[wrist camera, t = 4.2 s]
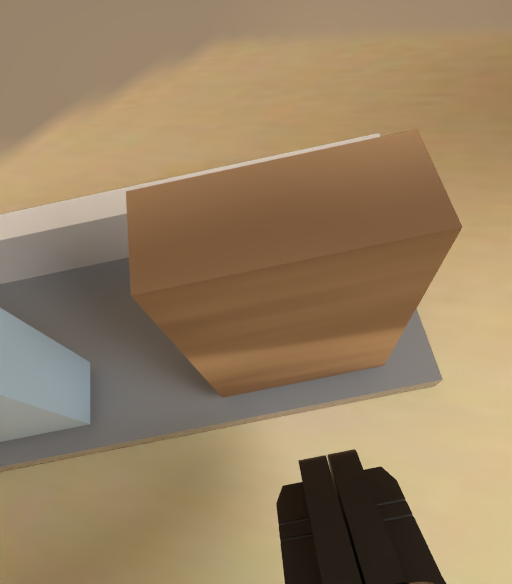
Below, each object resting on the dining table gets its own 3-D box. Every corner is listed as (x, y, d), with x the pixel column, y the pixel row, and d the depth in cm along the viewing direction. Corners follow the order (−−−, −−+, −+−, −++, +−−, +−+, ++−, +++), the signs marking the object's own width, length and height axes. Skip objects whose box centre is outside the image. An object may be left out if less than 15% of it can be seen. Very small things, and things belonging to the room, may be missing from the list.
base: (-54, 284, 21) (-128, 241, 18) (367, 195, 21) (379, 133, 17) (-87, 489, 17) (-192, 487, 14) (435, 385, 17) (470, 355, 13)
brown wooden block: (214, 337, 17) (125, 191, 9) (365, 306, 17) (417, 128, 9) (222, 398, 16) (130, 295, 8) (383, 365, 16) (462, 226, 8)
